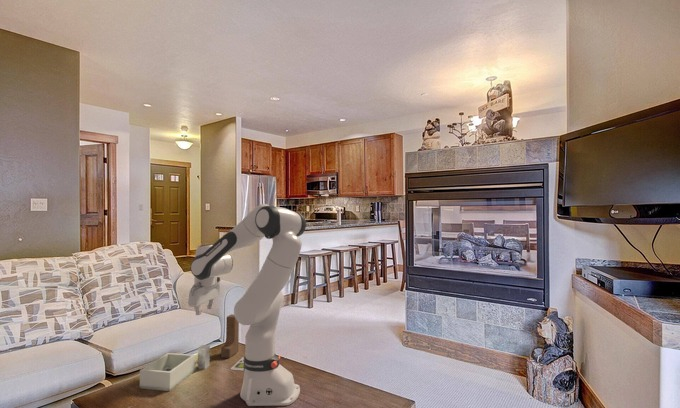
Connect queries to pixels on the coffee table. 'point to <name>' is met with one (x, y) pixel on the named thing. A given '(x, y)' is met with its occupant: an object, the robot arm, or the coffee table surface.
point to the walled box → (167, 371)
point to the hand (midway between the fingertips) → (204, 311)
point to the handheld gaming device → (239, 365)
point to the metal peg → (203, 356)
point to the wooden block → (231, 337)
